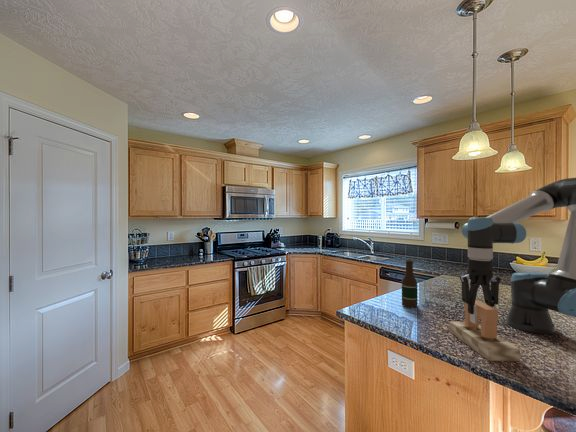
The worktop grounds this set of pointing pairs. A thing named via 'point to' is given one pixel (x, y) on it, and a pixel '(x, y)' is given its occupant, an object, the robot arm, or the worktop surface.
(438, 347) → the worktop surface
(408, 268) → the beer bottle
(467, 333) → the beige flat slotted piece
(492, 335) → the orange-brown block
